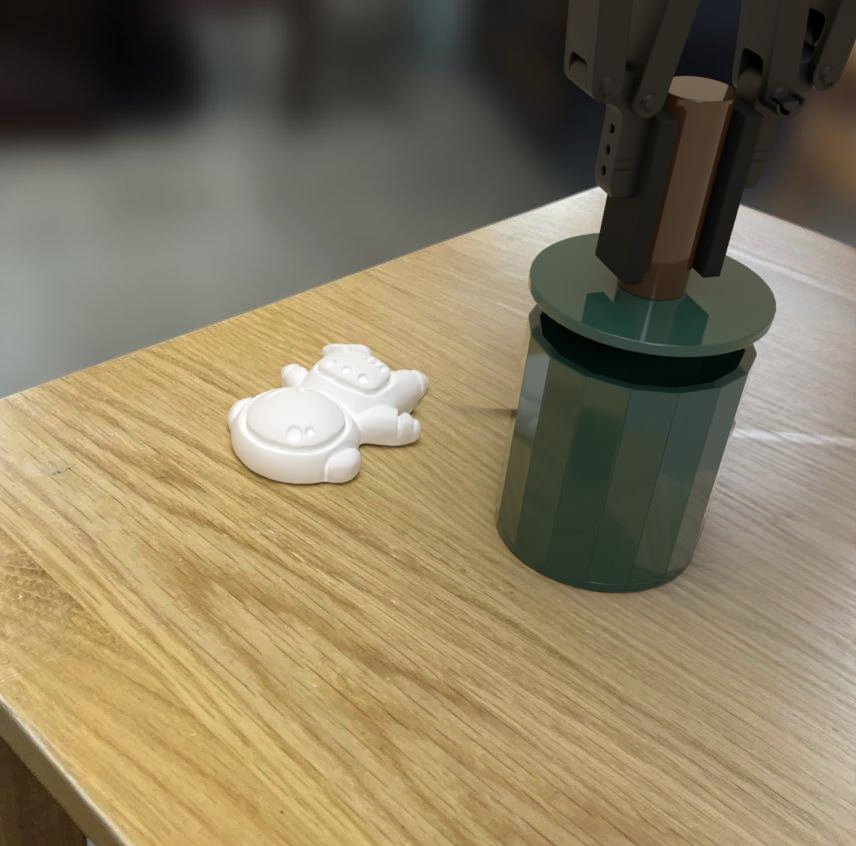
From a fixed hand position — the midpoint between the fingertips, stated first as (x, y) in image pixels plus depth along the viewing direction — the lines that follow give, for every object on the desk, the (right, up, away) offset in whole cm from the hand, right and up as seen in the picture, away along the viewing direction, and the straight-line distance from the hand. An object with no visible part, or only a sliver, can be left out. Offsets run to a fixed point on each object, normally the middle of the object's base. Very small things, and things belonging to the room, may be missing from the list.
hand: (657, 264), depth 50 cm
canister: (-1, -11, +9) cm, 14 cm away
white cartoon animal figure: (-13, -5, +15) cm, 20 cm away
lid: (0, -1, +1) cm, 1 cm away
